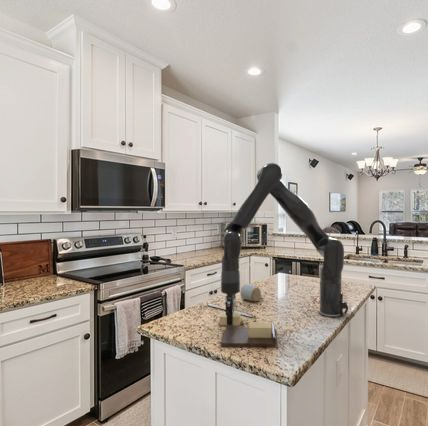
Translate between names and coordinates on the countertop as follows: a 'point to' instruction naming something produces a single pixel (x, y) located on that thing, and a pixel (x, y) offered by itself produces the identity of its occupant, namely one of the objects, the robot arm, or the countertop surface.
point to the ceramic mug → (250, 292)
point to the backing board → (245, 338)
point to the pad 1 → (235, 318)
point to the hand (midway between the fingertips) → (230, 322)
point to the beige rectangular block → (260, 330)
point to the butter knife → (225, 309)
